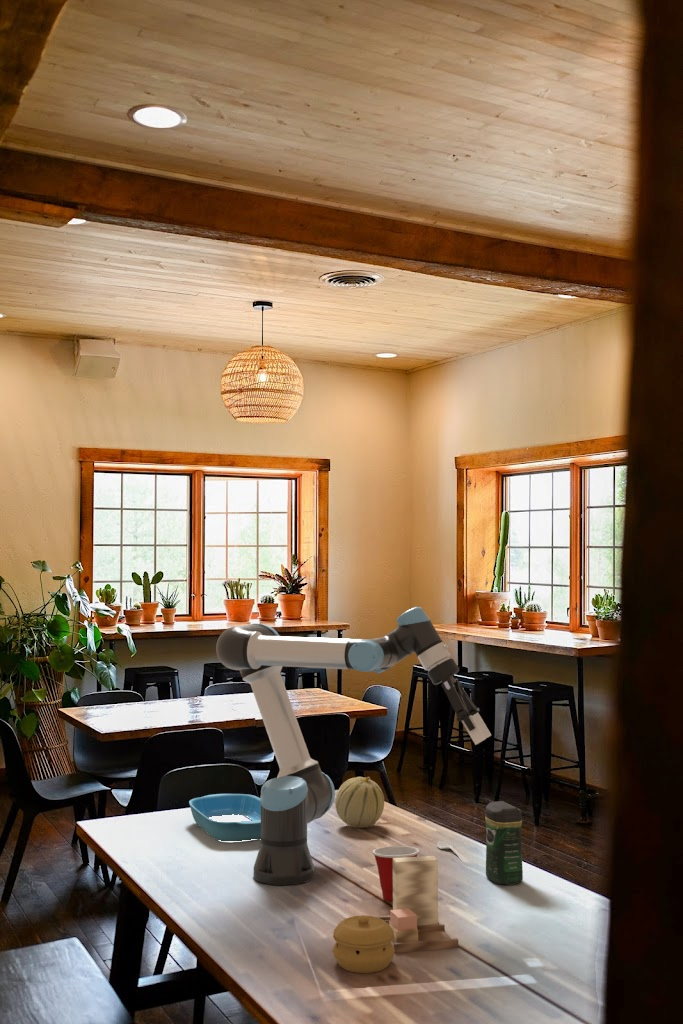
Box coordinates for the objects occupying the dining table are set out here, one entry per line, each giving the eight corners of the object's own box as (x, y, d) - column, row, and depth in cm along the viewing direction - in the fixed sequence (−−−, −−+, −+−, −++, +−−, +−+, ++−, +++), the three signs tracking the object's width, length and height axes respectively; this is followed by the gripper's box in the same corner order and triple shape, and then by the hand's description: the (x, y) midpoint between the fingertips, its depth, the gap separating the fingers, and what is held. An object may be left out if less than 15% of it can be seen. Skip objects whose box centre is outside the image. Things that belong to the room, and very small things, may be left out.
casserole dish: (292, 841, 275) (292, 816, 275) (216, 851, 266) (217, 824, 266) (249, 813, 308) (249, 790, 309) (180, 820, 299) (180, 797, 299)
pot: (403, 978, 181) (403, 923, 182) (342, 985, 178) (342, 929, 178) (382, 954, 192) (382, 902, 193) (325, 961, 189) (325, 908, 189)
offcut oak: (396, 947, 193) (396, 931, 193) (389, 936, 199) (389, 921, 199) (418, 945, 194) (418, 930, 194) (410, 934, 199) (410, 919, 200)
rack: (394, 958, 190) (394, 944, 190) (377, 929, 206) (377, 916, 206) (458, 953, 192) (458, 939, 193) (436, 925, 208) (436, 912, 208)
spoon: (446, 845, 271) (446, 839, 271) (480, 866, 252) (480, 860, 252) (433, 847, 270) (433, 841, 270) (466, 868, 250) (466, 861, 250)
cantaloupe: (338, 820, 298) (338, 770, 299) (386, 821, 296) (386, 771, 297) (331, 832, 283) (331, 780, 284) (381, 834, 281) (381, 781, 282)
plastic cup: (407, 892, 230) (406, 840, 231) (428, 906, 220) (427, 852, 221) (365, 898, 226) (364, 845, 227) (384, 912, 216) (383, 857, 217)
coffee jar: (527, 884, 236) (526, 806, 237) (498, 887, 233) (497, 808, 235) (510, 872, 245) (509, 797, 246) (481, 875, 243) (480, 800, 244)
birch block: (396, 931, 201) (395, 862, 202) (392, 926, 204) (392, 858, 205) (438, 928, 203) (437, 859, 204) (434, 923, 206) (433, 855, 207)
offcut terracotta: (398, 930, 194) (398, 917, 194) (390, 922, 198) (390, 910, 198) (417, 928, 195) (416, 915, 195) (408, 920, 199) (408, 908, 199)
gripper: (444, 656, 231) (491, 735, 226) (458, 657, 255) (501, 729, 250) (417, 672, 232) (463, 752, 227) (434, 671, 256) (476, 743, 251)
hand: (483, 740), depth 238 cm, fingers open, 13 cm apart
